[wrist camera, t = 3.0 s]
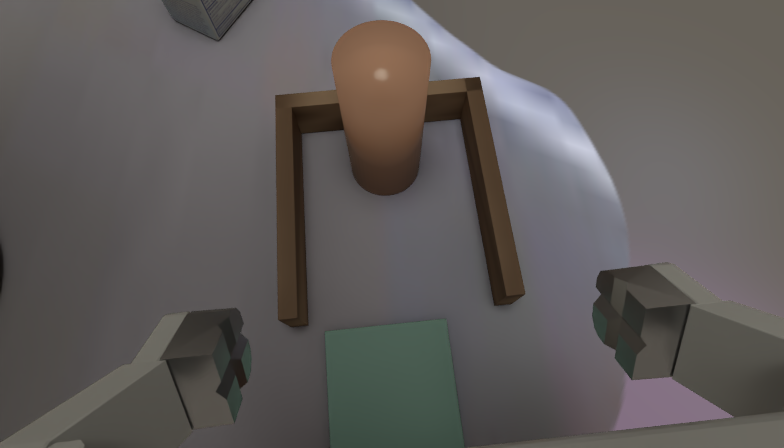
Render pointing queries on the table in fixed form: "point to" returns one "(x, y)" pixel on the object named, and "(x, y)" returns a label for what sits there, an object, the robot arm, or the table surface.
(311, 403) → the table surface
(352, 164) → the terracotta canister
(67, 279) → the table surface
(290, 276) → the frame
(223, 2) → the medicine box
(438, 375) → the pad
